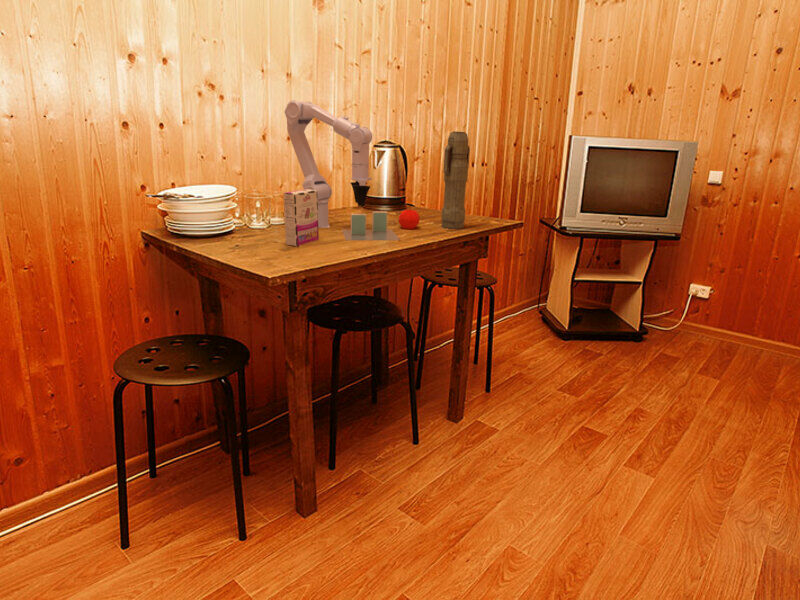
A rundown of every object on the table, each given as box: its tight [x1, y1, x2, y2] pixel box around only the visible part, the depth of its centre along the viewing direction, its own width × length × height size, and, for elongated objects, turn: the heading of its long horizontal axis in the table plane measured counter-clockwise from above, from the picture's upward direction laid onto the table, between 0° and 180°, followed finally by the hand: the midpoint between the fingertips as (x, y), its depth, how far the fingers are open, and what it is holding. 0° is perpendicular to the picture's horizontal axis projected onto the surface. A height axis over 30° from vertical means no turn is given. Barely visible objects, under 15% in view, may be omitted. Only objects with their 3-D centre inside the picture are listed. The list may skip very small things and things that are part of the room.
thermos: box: [440, 131, 471, 230], centre depth 202 cm, size 9×12×35 cm
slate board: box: [341, 229, 401, 241], centre depth 185 cm, size 18×18×1 cm
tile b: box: [371, 211, 388, 232], centre depth 190 cm, size 5×2×7 cm, turn 100°
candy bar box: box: [283, 189, 320, 248], centre depth 170 cm, size 11×5×16 cm, turn 151°
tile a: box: [350, 213, 367, 235], centre depth 183 cm, size 5×2×7 cm, turn 100°
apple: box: [398, 209, 421, 230], centre depth 198 cm, size 8×8×7 cm
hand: (359, 204), depth 188 cm, fingers open, 7 cm apart
